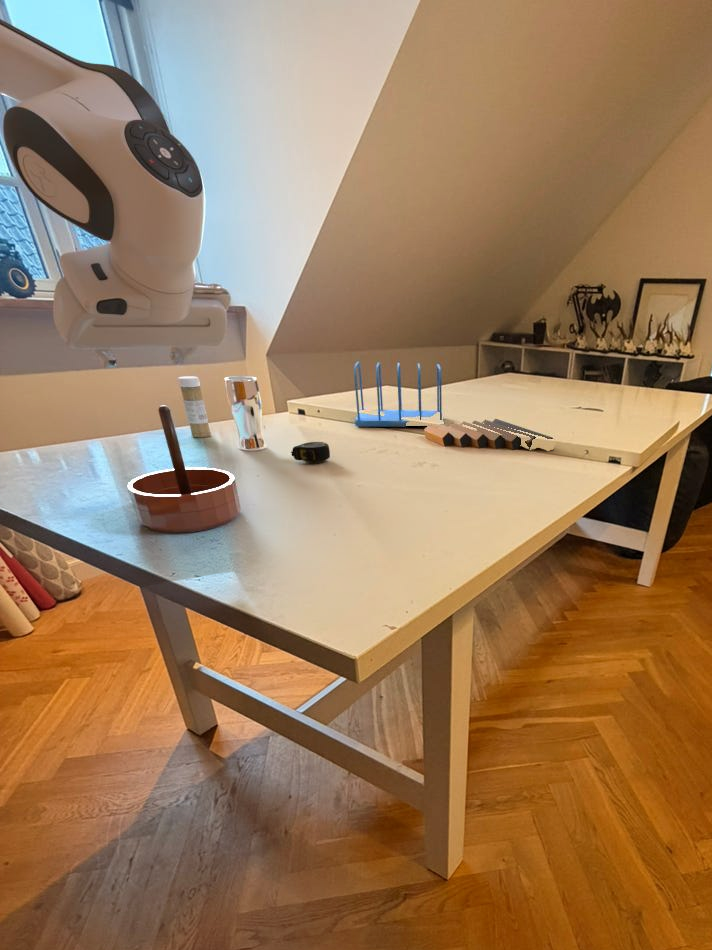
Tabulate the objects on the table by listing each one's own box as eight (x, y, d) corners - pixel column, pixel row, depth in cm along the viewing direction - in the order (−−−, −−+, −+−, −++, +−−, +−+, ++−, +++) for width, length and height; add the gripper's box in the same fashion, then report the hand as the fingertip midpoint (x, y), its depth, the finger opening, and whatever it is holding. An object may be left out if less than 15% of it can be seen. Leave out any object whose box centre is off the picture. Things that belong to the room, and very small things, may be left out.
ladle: (174, 519, 86) (144, 409, 77) (173, 509, 89) (143, 403, 80) (208, 515, 88) (182, 407, 79) (206, 506, 91) (181, 402, 82)
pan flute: (555, 450, 138) (500, 430, 155) (557, 436, 136) (500, 418, 153) (474, 461, 126) (423, 438, 143) (474, 446, 124) (423, 424, 141)
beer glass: (250, 443, 131) (238, 375, 123) (274, 446, 130) (264, 377, 122) (230, 449, 126) (216, 378, 118) (255, 452, 124) (242, 381, 116)
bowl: (139, 540, 80) (126, 501, 77) (139, 508, 91) (128, 472, 88) (247, 526, 87) (240, 489, 83) (235, 498, 98) (228, 464, 94)
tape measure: (312, 456, 124) (310, 439, 122) (337, 460, 122) (335, 443, 120) (292, 462, 119) (289, 445, 117) (317, 467, 116) (315, 449, 114)
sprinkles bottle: (206, 433, 138) (193, 375, 131) (214, 436, 136) (202, 377, 128) (188, 435, 135) (173, 376, 128) (196, 438, 133) (182, 378, 125)
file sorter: (441, 417, 168) (441, 362, 160) (444, 429, 154) (445, 369, 145) (360, 415, 165) (355, 359, 157) (355, 427, 151) (350, 366, 142)
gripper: (221, 266, 73) (205, 341, 84) (42, 253, 60) (50, 344, 71) (244, 306, 73) (225, 376, 84) (70, 302, 60) (73, 386, 71)
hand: (143, 362), depth 77 cm, fingers open, 8 cm apart
